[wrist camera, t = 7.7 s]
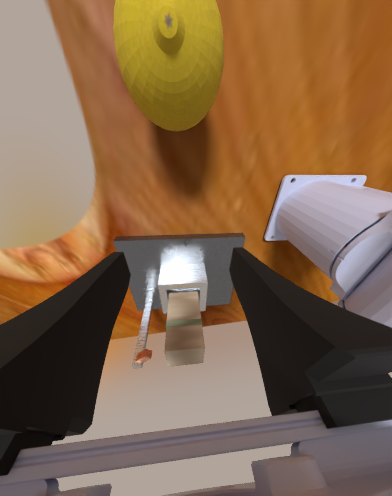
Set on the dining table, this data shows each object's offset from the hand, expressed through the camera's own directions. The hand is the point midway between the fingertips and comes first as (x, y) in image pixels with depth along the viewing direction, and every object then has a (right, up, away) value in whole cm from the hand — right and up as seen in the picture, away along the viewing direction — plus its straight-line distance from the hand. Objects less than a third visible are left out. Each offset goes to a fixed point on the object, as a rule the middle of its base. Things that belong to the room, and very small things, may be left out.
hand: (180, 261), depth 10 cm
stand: (-1, -3, +13) cm, 13 cm away
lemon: (-1, +13, +2) cm, 13 cm away
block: (0, -6, +9) cm, 11 cm away
